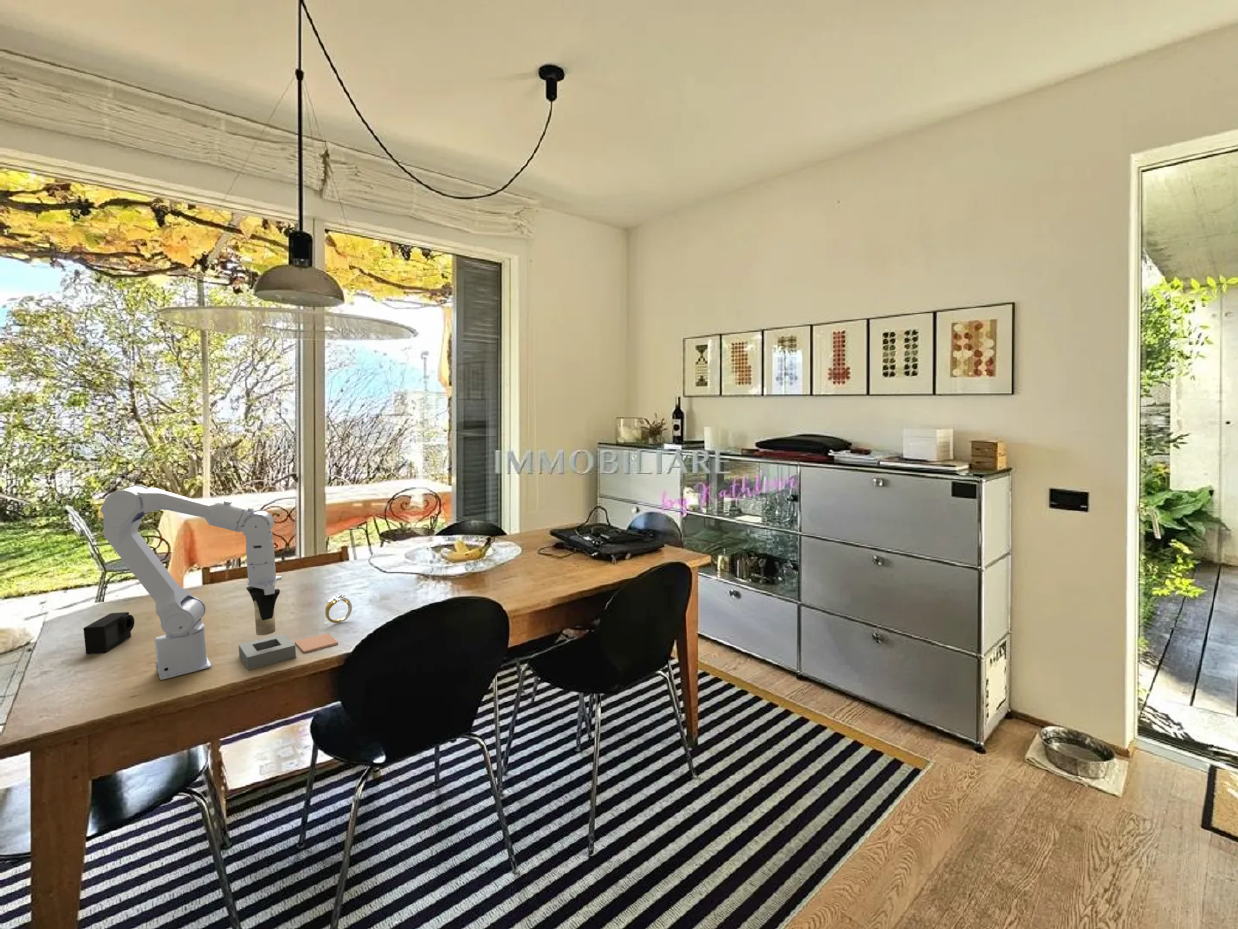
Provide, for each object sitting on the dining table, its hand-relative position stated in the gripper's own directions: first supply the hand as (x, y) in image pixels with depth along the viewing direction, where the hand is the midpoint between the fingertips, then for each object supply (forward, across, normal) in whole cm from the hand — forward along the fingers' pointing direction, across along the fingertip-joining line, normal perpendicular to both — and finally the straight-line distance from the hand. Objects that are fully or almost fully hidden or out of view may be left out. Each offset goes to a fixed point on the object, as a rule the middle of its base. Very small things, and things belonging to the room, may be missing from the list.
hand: (264, 616), depth 141 cm
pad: (+10, 0, -11) cm, 15 cm away
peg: (+4, 0, 0) cm, 4 cm away
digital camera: (+10, +35, +28) cm, 46 cm away
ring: (+10, +11, -20) cm, 25 cm away
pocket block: (+10, 0, 0) cm, 10 cm away
